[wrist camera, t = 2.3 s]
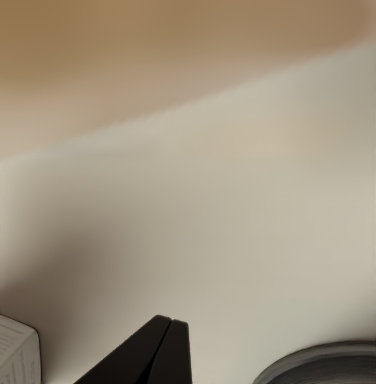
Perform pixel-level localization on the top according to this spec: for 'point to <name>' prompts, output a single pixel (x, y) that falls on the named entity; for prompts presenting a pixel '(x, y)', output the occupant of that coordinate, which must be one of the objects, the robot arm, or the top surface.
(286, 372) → the pot
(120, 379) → the robot arm
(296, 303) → the top surface
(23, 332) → the skincare box
